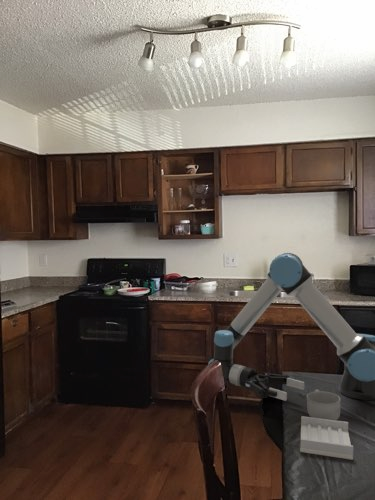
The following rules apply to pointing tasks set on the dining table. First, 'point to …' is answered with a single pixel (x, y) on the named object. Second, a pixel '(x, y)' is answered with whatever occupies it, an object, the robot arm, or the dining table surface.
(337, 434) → the drying rack
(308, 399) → the teacup
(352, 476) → the dining table surface
